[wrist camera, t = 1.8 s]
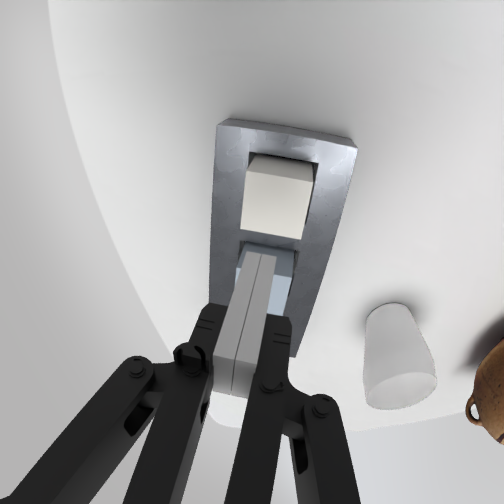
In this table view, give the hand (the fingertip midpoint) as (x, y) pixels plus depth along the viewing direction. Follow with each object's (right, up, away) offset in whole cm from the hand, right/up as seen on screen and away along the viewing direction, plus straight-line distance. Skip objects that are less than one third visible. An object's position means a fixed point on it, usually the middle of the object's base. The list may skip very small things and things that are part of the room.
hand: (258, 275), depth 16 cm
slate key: (+1, 0, +16) cm, 16 cm away
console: (+2, +2, +19) cm, 19 cm away
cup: (+19, -8, +22) cm, 30 cm away
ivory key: (+2, +7, +11) cm, 14 cm away
